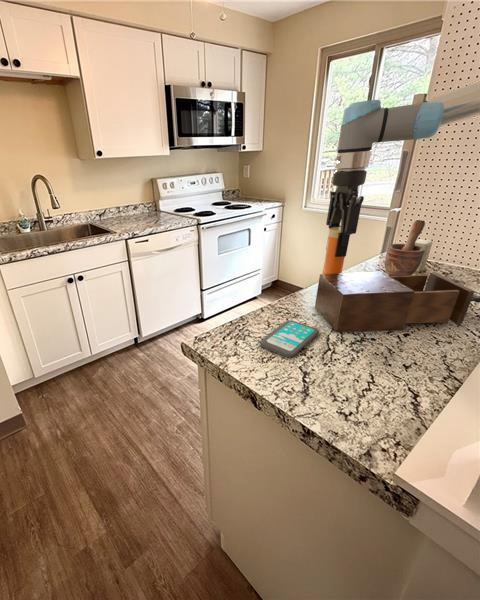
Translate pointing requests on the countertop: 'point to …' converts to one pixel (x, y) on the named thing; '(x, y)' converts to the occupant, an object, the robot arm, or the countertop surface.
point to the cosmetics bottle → (427, 246)
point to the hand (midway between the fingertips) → (335, 253)
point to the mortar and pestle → (405, 254)
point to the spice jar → (333, 253)
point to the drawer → (437, 298)
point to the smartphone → (289, 338)
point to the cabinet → (363, 301)
